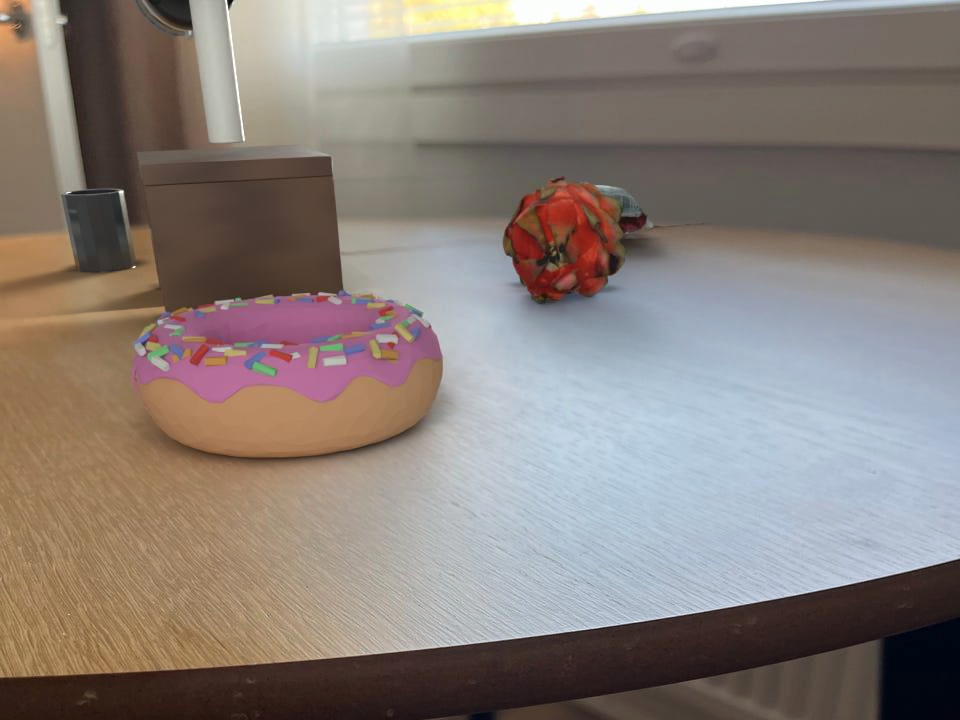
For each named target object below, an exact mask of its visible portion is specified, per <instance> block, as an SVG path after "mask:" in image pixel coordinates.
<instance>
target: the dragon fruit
mask: <svg viewBox="0 0 960 720" xmlns="http://www.w3.org/2000/svg"><path fill="white" fill-rule="evenodd" d="M565 179H566V178H565V176H562V175H561V176H558V177H553V178H550V179H549V180H548V181H547V184H546V186H544V187H537V188H536V190H535V192H534V193H527V194H525V195H524V196H523V197H522V198H521V199H520V200H519V201H518V203H517V204H516V206H515V208H514V210H513V214H512V215H511V218H510V220H509V222H507V226H506V227H505V229H504V233H503V237H502V246H503V251H504V254H505V255H506V257H510V258H511V259H512V265H513V267H514V270H515V273H516V274H517V275H518V277H519V282H520V284H521V285H522V286H524V287H526V290H527V292H528V293H529V294H530V295H531V300H533V301H535V302H536V303H538V304H542V303H547V302H549V303H557V302H559V301H560V300H562V299H563V298H564V297H565V295H566V293H568V292H570V293H572V294H573V293H578V294H579V295H581V296H583V297H585V298H592V297H594V296H595V295H597V294H598V293H599V292H600V291H601V290H602V289H604V287H606V286H607V285H608V283H609V278H608V277H611V276H614V275H615V274H617V273H618V272H619V271H620V269H621V268H622V266H623V265H624V264H625V262H626V260H627V258H626V256H627V254H628V252H629V250H628V249H627V248H626V247H624V245H623V244H622V243H621V241H622V240H623V239H622V238H623V237H624V235H625V234H624V233H623V232H622V230H621V228H620V227H619V226H620V224H619V223H618V221H619V219H620V218H621V215H622V213H623V207H622V205H621V203H620V202H619V201H618V200H617V199H616V198H615V197H612V196H608V195H601V193H600V190H599V189H598V188H597V187H596V186H595V184H593V183H591V182H587V181H585V182H578V181H576V180H574V181H571V182H569V183H568V182H567V181H566V180H565ZM621 239H622V240H621Z"/></svg>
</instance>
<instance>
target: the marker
mask: <svg viewBox="0 0 960 720" xmlns="http://www.w3.org/2000/svg"><path fill="white" fill-rule="evenodd" d="M189 3H190V10H191V17H192V25H193V32H194V39H195V40H194V45H195V52H196V59H197V66H198V73H199V79H200V80H199V81H200V87H201V95H202V100H203V109H204V115H205V123H206V128H207V136H208V142H209V144H213V145H214V144H216V145H217V144H220V145H221V144H238V143H244V142H245V133H244V125H243V118H242V109H241V102H240V101H241V100H240V93H239V92H240V91H239V86H238V85H239V84H238V77H237V70H236V60H235V54H234V46H233V39H232V30H231V29H232V28H231V21H230V15H229V11H228V5H227V0H189Z"/></svg>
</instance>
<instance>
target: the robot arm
mask: <svg viewBox="0 0 960 720" xmlns="http://www.w3.org/2000/svg"><path fill="white" fill-rule="evenodd" d="M134 2H135V3H136V5H137V7H138V10H139V11H140V12H141V14H142V15H143V17H145V18H146V21H147V22H148V23H149V24H151V25H152V26H153V27H155V28H156V29H158V30H159V31H161V32H163V33H164V34H165V33H167V34H168V35H170V36H172V37H185V39H186V40H188V41H189V42H190V41H195V39H194V32H193V25H192V17H191V10H190V3H189V0H134ZM234 2H235V0H227V5H228V12H230V10H231V8H232V6H233V5H234Z"/></svg>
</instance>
